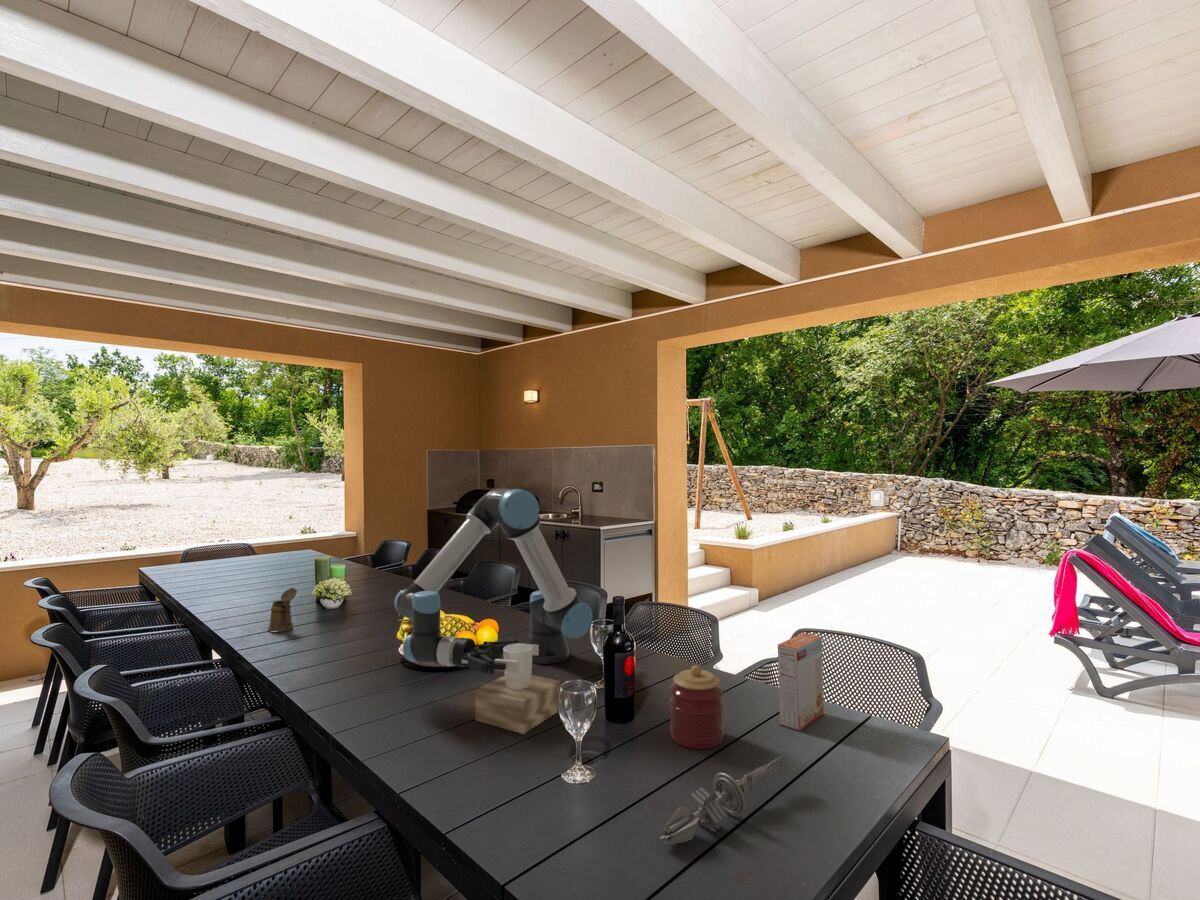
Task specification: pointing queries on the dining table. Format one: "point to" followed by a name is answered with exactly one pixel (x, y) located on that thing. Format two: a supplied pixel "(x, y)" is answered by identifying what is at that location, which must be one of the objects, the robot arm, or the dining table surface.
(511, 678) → the white cup
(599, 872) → the dining table surface
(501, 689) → the riser block
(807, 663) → the cracker box
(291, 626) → the wooden mug
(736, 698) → the dining table surface
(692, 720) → the canister
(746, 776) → the spaceship
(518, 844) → the dining table surface
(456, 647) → the robot arm
